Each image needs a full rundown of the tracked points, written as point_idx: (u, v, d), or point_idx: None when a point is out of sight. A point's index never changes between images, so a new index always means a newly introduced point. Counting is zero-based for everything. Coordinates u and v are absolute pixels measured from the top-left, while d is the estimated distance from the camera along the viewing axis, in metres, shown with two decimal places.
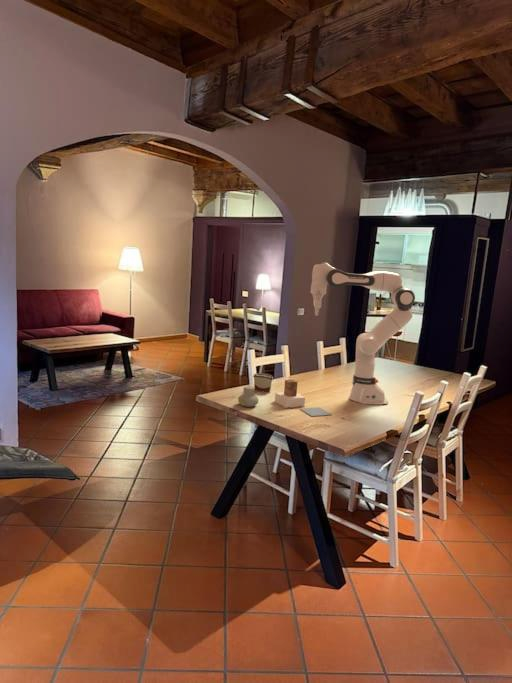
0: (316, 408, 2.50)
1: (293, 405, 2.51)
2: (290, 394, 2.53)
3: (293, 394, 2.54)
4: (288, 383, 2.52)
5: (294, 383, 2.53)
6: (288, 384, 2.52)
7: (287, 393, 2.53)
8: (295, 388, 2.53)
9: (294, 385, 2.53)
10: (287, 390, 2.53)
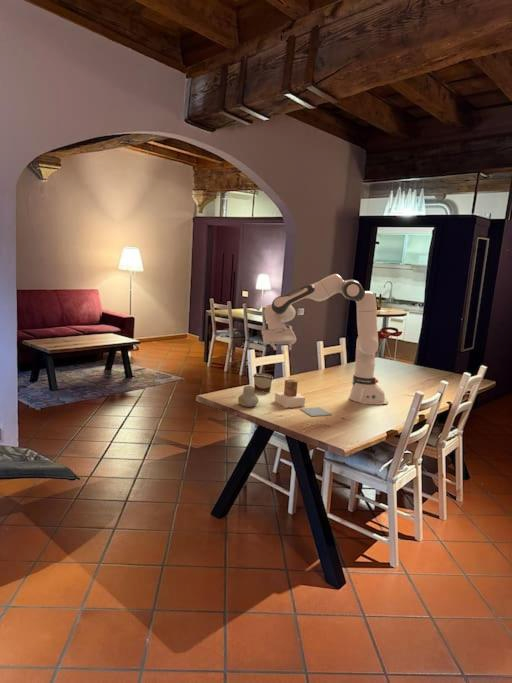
0: (316, 408, 2.50)
1: (293, 405, 2.51)
2: (290, 394, 2.53)
3: (293, 394, 2.54)
4: (288, 383, 2.52)
5: (294, 383, 2.53)
6: (288, 384, 2.52)
7: (287, 393, 2.53)
8: (295, 388, 2.53)
9: (294, 385, 2.53)
10: (287, 390, 2.53)
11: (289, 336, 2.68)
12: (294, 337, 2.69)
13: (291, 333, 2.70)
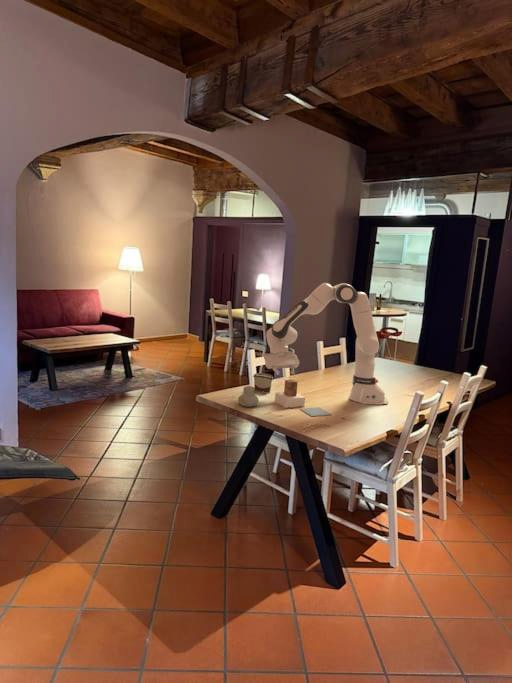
0: (316, 408, 2.50)
1: (293, 405, 2.51)
2: (290, 394, 2.53)
3: (293, 394, 2.54)
4: (288, 383, 2.52)
5: (294, 383, 2.53)
6: (288, 384, 2.52)
7: (287, 393, 2.53)
8: (295, 388, 2.53)
9: (294, 385, 2.53)
10: (287, 390, 2.53)
11: (292, 360, 2.65)
12: (297, 361, 2.66)
13: (294, 357, 2.67)
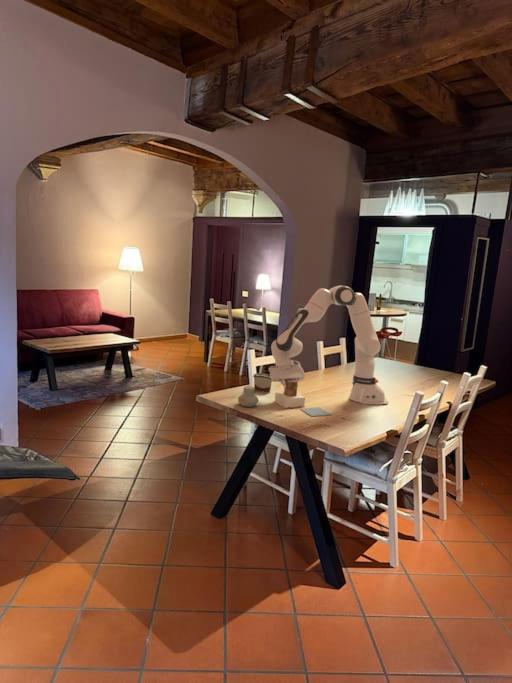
0: (316, 408, 2.50)
1: (293, 405, 2.51)
2: (290, 394, 2.53)
3: (293, 394, 2.54)
4: (288, 383, 2.52)
5: (294, 383, 2.53)
6: (288, 384, 2.52)
7: (287, 393, 2.53)
8: (295, 388, 2.53)
9: (294, 385, 2.53)
10: (287, 390, 2.53)
11: (297, 373, 2.60)
12: (302, 373, 2.60)
13: (299, 369, 2.61)
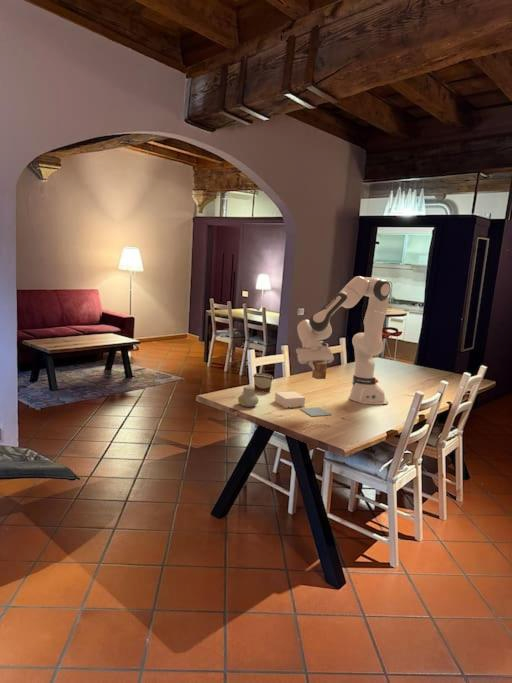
0: (316, 408, 2.50)
1: (293, 405, 2.51)
2: (319, 377, 2.39)
3: (322, 377, 2.40)
4: (317, 365, 2.38)
5: (323, 365, 2.39)
6: (317, 366, 2.38)
7: (316, 376, 2.39)
8: (324, 370, 2.39)
9: (323, 367, 2.39)
10: (316, 372, 2.39)
11: (326, 354, 2.45)
12: (331, 355, 2.46)
13: (328, 351, 2.47)
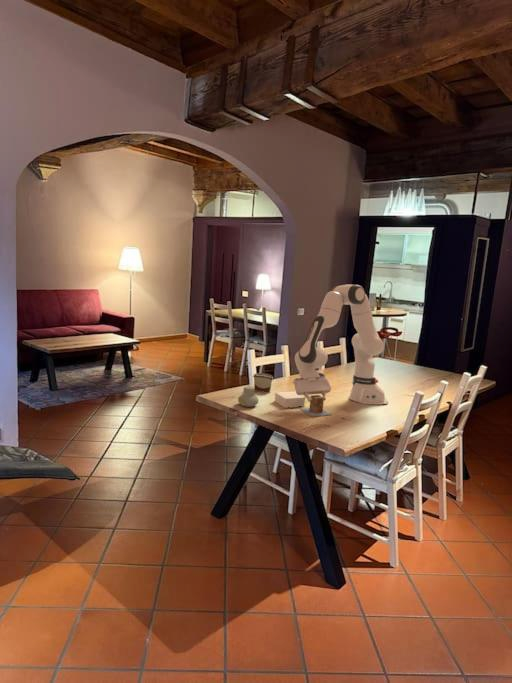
0: None
1: (293, 405, 2.51)
2: (316, 411, 2.42)
3: (319, 411, 2.42)
4: (314, 399, 2.41)
5: (320, 399, 2.41)
6: (314, 400, 2.41)
7: (313, 409, 2.42)
8: (321, 404, 2.42)
9: (320, 401, 2.42)
10: (313, 406, 2.42)
11: (323, 385, 2.48)
12: (328, 386, 2.49)
13: (325, 382, 2.50)
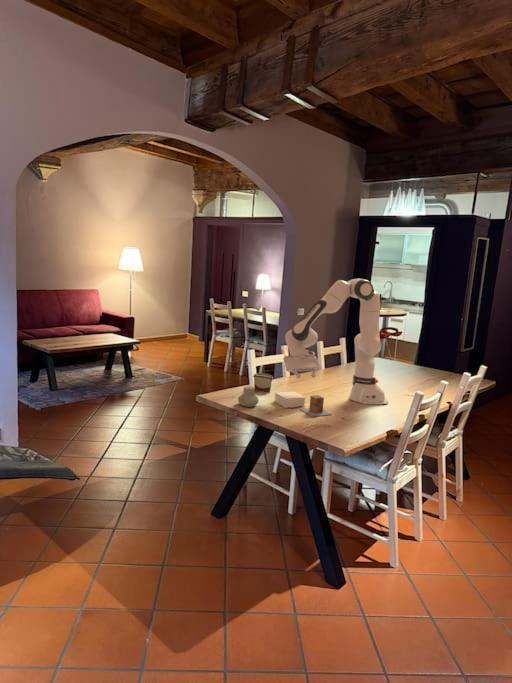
0: None
1: (293, 405, 2.51)
2: (316, 411, 2.42)
3: (319, 411, 2.42)
4: (314, 399, 2.41)
5: (320, 399, 2.41)
6: (314, 400, 2.41)
7: (313, 409, 2.42)
8: (321, 404, 2.42)
9: (320, 401, 2.42)
10: (313, 406, 2.42)
11: (312, 363, 2.58)
12: (317, 363, 2.59)
13: (314, 359, 2.59)
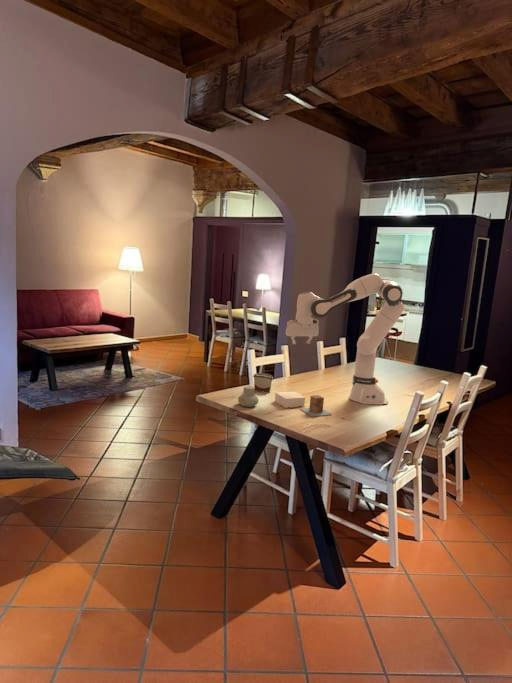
0: None
1: (293, 405, 2.51)
2: (316, 411, 2.42)
3: (319, 411, 2.42)
4: (314, 399, 2.41)
5: (320, 399, 2.41)
6: (314, 400, 2.41)
7: (313, 409, 2.42)
8: (321, 404, 2.42)
9: (320, 401, 2.42)
10: (313, 406, 2.42)
11: (312, 331, 2.67)
12: (317, 332, 2.69)
13: (315, 327, 2.68)
